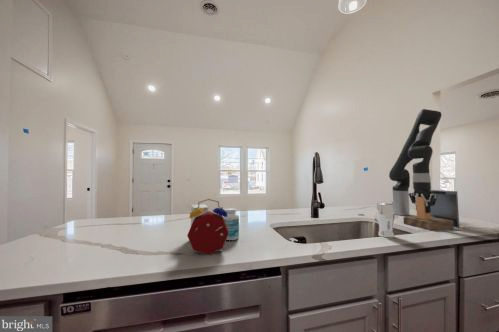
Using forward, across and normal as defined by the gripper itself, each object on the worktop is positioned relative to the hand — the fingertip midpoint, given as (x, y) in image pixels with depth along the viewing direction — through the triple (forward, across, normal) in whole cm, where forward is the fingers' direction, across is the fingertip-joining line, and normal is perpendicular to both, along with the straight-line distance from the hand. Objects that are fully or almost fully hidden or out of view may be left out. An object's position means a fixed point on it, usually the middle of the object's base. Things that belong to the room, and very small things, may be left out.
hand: (423, 212), depth 110 cm
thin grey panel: (+8, 0, +11) cm, 13 cm away
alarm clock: (+8, +12, -117) cm, 118 cm away
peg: (+4, 0, 0) cm, 4 cm away
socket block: (+8, 0, +3) cm, 8 cm away
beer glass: (+8, +9, -35) cm, 37 cm away
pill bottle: (+8, -3, -107) cm, 108 cm away
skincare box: (+8, -3, -121) cm, 122 cm away
